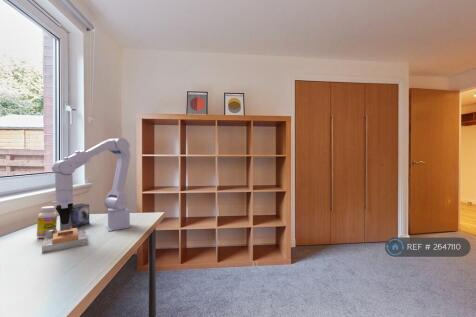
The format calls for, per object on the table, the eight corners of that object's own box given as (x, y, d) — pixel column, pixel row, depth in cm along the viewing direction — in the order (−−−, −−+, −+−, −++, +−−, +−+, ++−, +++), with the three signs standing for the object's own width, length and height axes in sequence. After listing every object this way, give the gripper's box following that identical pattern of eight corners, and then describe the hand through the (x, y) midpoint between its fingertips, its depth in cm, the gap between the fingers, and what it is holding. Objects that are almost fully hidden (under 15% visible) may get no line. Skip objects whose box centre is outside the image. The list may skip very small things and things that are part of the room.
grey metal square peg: (70, 227, 99) (70, 208, 98) (71, 229, 96) (70, 209, 96) (60, 228, 97) (59, 209, 96) (60, 231, 94) (59, 211, 93)
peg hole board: (85, 234, 106) (84, 223, 106) (87, 244, 95) (86, 231, 95) (45, 241, 98) (44, 229, 98) (42, 253, 86) (41, 239, 86)
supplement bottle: (41, 239, 100) (42, 209, 100) (33, 236, 103) (34, 207, 103) (59, 235, 106) (60, 206, 106) (51, 233, 109) (52, 205, 109)
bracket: (76, 227, 108) (76, 224, 108) (77, 238, 94) (77, 235, 94) (54, 231, 104) (54, 227, 103) (52, 243, 89) (52, 239, 89)
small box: (70, 230, 113) (69, 208, 113) (60, 228, 115) (60, 207, 115) (90, 223, 123) (89, 203, 123) (81, 222, 125) (80, 203, 125)
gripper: (52, 188, 99) (53, 220, 100) (50, 192, 87) (51, 229, 88) (73, 186, 103) (73, 217, 104) (73, 191, 92) (74, 225, 92)
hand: (65, 222), depth 96 cm, fingers closed on grey metal square peg, 3 cm apart
